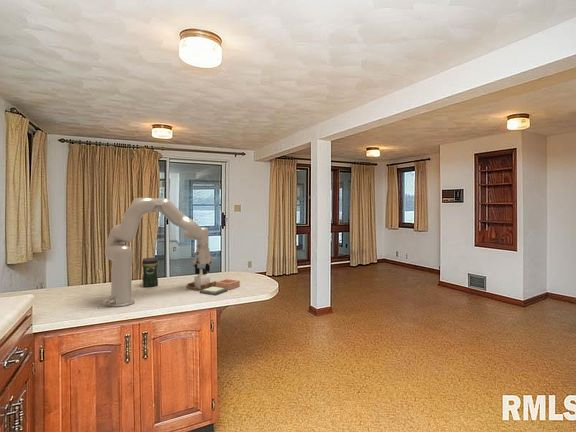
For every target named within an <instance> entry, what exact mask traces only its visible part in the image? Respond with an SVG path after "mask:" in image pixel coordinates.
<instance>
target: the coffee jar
mask: <svg viewBox="0 0 576 432" xmlns="http://www.w3.org/2000/svg"><path fill="white" fill-rule="evenodd" d="M141 263H142V264H141V266H142V281H141V283H142V284H141V285H142V287H143V288H152V287H157V286H158V285H159V280H158V279H159V278H158V272H157V271H158V268H157V267H158V258H157V257H144V258H143V259H142V262H141Z"/></svg>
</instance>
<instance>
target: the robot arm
mask: <svg viewBox="0 0 576 432" xmlns="http://www.w3.org/2000/svg"><path fill="white" fill-rule="evenodd" d="M147 213H161V214H162V215H163V216H164V217H165V218H166V219H167V220H168V221H169V222H170V223H172V224H173V225H175V226H176V227H179V228H182V229H184V230H183V236H184V238H185V239H188V240H193V241H195V240H196V246H195V247H196V249H195V253H194V255H195V256H194V258H195V259H194V260H193V261H192V264H193V265H192V266H193V267H194V272H195V273H194V274H195V275H197V274H200V269H201V265H204V266H205V267H204V269H207V273H209V272H211V270H210V269H211V268H210V267H211V263H212V260H213V258H212V257H211V251H210V248H209V246H210V245H209V235H210V234H209V232H210V231H209V228H208V227H201V226H200V225H199V224H198V223H197V222H196V221H195V220H194V219H192V218H190V217H188V216H187V215H185V214H184V213H182V211H181V210H180V209H179V208H178V207H177V206H176V204H174V203H173V202H172V200H170V199H168V198H167V197H166V198H165V197H158V198H157V197H155V198H152V197H136V198H134V199H133V200H132V201H131V204H130V205H129V207H128V208H127V209H126V210H125V212H124V214H123V217H122V220H121V223H120V224H115V225H114V226H113V227H112V228H111V230H110V232H109V234H108V238H107V241H106V244H105V248H104V255H105V257H106V258H107V259H108V260H110V261H112V264H111V270H110V273H111V276H110V277H111V280H110V281H111V283H110V284H111V285H110V286H111V294H110V295H111V296H109V297H108V298H107V299H103V300H102V304H103V305H105V304H107V305H108V307H114V308H117V307H127V306H131V305H133V304H134V303H135V299H133V298H132V263H133V256H134V253H133V249H132V248H131V247H130V246H128V245H127V244H126V243H131V242H133V241H134V240H135V238H136V236H137V231H138V228H139V225H140V222H141V219H142V218H143V216H144V215H145V214H147Z"/></svg>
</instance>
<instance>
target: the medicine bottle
mask: <svg viewBox="0 0 576 432" xmlns="http://www.w3.org/2000/svg"><path fill="white" fill-rule="evenodd" d="M210 280H211V277H210V275H208V272H207V269H205V267H204V268H202V267H200V274H196V275H195V276H194V280H193V282H194V287H195V288H201V285H204V284H207V283H210V282H211V281H210Z"/></svg>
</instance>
